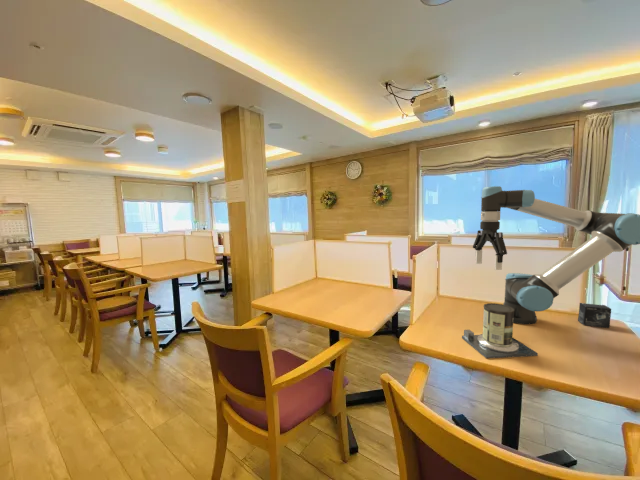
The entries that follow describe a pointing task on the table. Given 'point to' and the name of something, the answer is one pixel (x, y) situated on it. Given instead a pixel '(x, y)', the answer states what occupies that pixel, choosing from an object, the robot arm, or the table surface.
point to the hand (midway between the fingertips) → (487, 266)
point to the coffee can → (498, 324)
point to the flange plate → (497, 347)
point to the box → (594, 315)
